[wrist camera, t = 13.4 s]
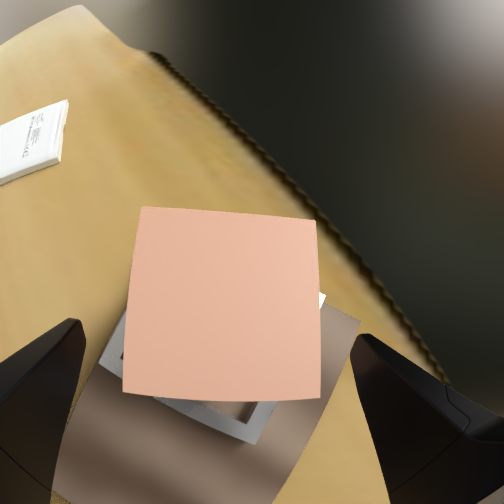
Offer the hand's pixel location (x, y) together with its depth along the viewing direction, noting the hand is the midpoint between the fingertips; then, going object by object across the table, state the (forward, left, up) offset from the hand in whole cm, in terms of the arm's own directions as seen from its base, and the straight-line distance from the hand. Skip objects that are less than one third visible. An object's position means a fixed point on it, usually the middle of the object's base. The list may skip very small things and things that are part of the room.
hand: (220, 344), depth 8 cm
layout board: (-5, -1, -10) cm, 11 cm away
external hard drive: (+5, +26, -10) cm, 28 cm away
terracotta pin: (+1, 0, -9) cm, 9 cm away
